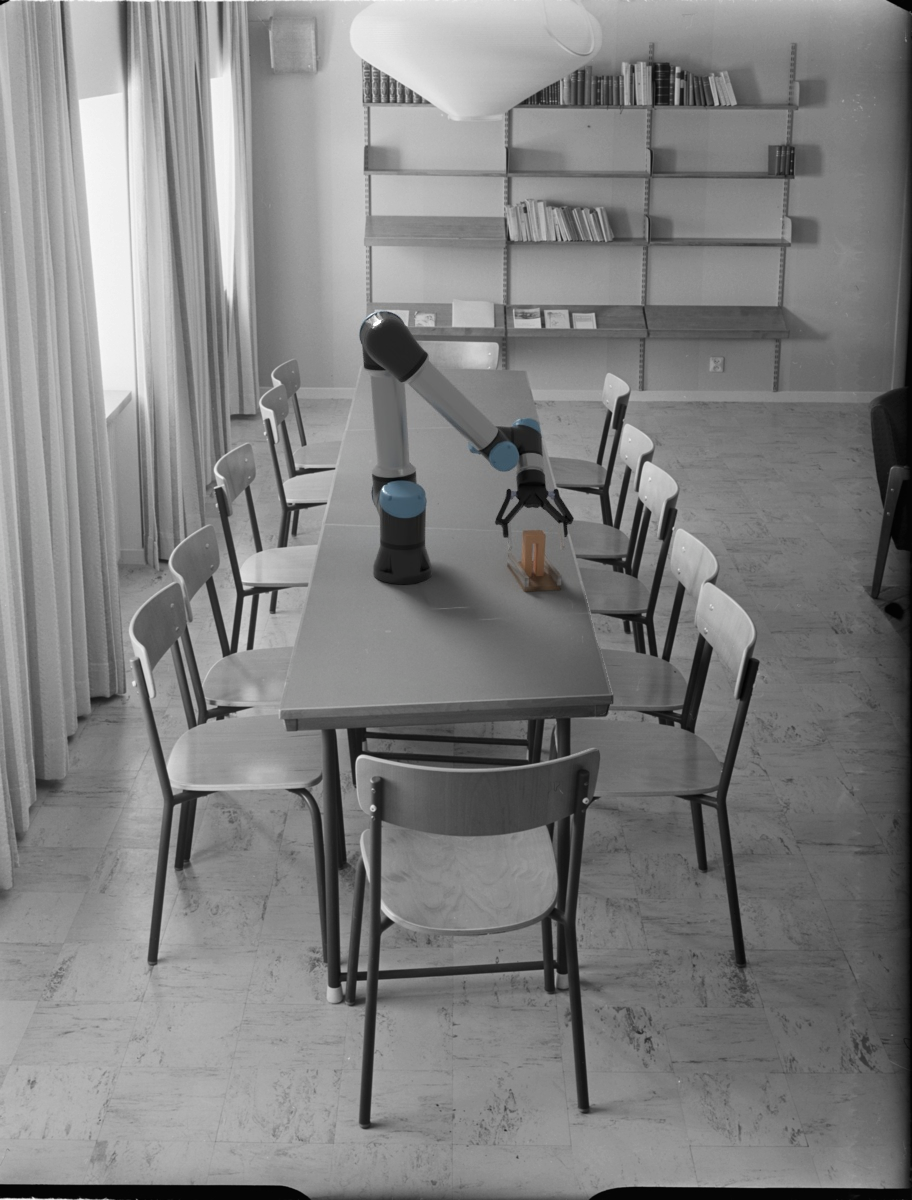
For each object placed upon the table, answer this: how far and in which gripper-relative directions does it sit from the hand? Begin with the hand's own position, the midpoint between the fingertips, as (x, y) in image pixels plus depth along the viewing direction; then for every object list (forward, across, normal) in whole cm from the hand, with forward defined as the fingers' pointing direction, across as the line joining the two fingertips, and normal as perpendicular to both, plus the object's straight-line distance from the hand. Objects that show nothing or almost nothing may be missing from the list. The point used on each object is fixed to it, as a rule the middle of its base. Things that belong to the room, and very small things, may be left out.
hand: (536, 548), depth 304 cm
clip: (+4, +1, -6) cm, 7 cm away
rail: (+5, 0, -7) cm, 9 cm away
